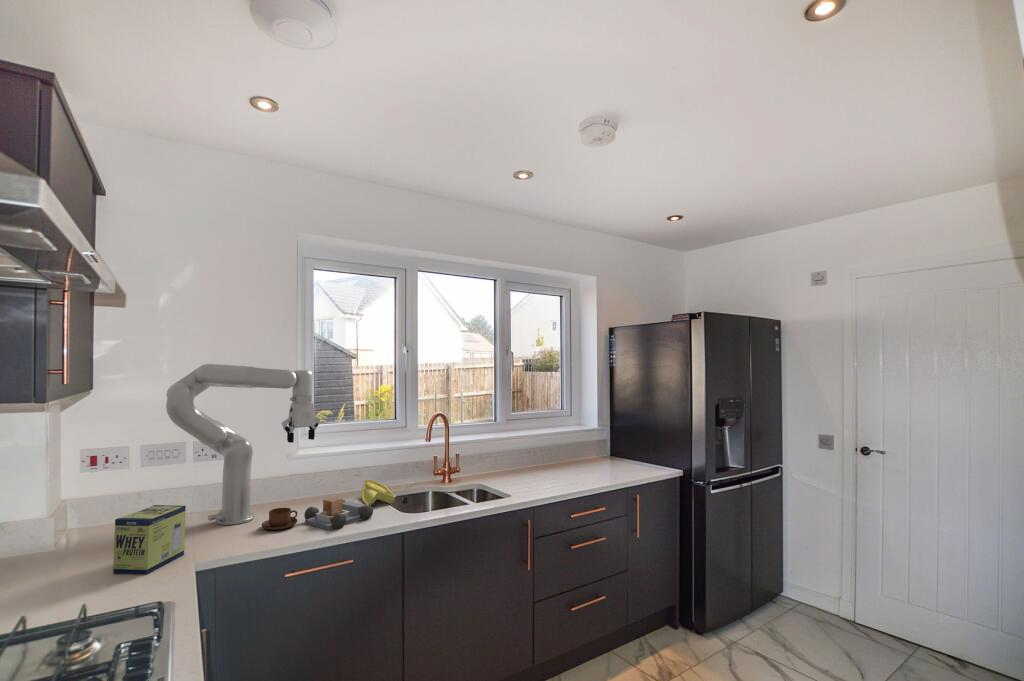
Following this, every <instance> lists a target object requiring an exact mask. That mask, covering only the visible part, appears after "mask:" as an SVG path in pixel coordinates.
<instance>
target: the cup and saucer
mask: <svg viewBox="0 0 1024 681" xmlns="http://www.w3.org/2000/svg"><path fill="white" fill-rule="evenodd" d="M292 513H295V515H294V516H292ZM297 516H298V511H297V510H292V509H291V508H290V507H277V508H273V509H270V510H269V511H268V519H267V520H265V521H263V522H262V523H261V527H262V528H263V529H265V530H269V531H279V530H284V529H288V528H291V527H293V526H295V525H296V524H297V523H298V519H297Z"/></svg>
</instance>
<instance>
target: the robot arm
mask: <svg viewBox="0 0 1024 681" xmlns="http://www.w3.org/2000/svg"><path fill="white" fill-rule="evenodd" d="M210 387H219V388H220V387H222V388H241V389H243V388H244V389H245V388H246V389H254V388H255V389H256V388H263V389H265V388H266V389H291V388H292V391H291V392H292V394H291V396H292V397H290V398H289V401H290V402H291V403H290V406H289V409H288V410H289V411H288V418H286V419H285V420H284V421H282V422H281V426H282V428H283V430H285V432H286V433H287V434H286V435H287V436H286V437H287V438H286V440H287V443H294V442H295V440H294V439H295V433H294V431H295V429H299V428H307V427H308V432H307V433H308V435H307V436H308V438H307V439H308V440H312V441H313V440H315V437H316V436H315V432H316V430H317V427H318V426H319V424H320V421H321V419H320V418H319V417H317V416H316V408H315V403H314V402H312V398H313V396H312V394H313V372H312V370H307V369H304V370H303V369H298V370H290V369H277V368H263V367H262V368H261V367H255V366H246V365H233V364H221V363H220V364H216V363H215V364H214V363H205V364H202V365H200V366H199V367H197V368H195V369H194V370H193V371H191V372H190V373H189V374H187V375H186V376H184V377H182V378H180V379H179V380H178V381H176V382H175V383H173V384H172V385H170V386H169V387H168V388H167V390H166V391H167V392H166V404H165V406H166V407H165V408H166V413H167V415H168V418H169V419H170V421H171V422H172V423H173V424H174V425H175V426H177V427H178V428H180V429H181V430H183V431H184V432H186V433H187V434H189V435H190V436H191V437H193V438H195V439H196V440H198V441H199V443H201V444H203V445H204V446H206V447H208V448H210V449H212V450H213V451H215V452H217V453H218V454H219V455H222V456H223V468H222V492H221V493H222V494H221V496H222V497H221V498H222V499H221V509H219V510H218V512H217V513H216V514H210V515H208V516H207V520H208V521H209V522H211V521H214V520H215V521H216V524H218V525H224V526H230V525H231V526H232V525H240V524H244V523H247V522H250V521H252V520H254V518H255V514H254V513H252V512H250V511H251V482H252V481H251V480H252V479H251V478H252V477H251V476H252V461H253V454H254V452H253V451H254V450H253V446H252V444H251V442H250V441H249V440H248V439H246V438H245V437H243V436H241V435H240V434H238V433H237V432H235V431H233V429H231V428H229V427H228V426H227V425H225V424H223V423H222V422H220V421H218V420H216V419H213V418H212V417H210V416H209V415H207V414H206V413H205V412H203V411H201V410H200V409H198V408H197V407H196V406H195V402H194V400H195V398H196V397H197V396H198V395H200V394H201V393H203V392H204V391H205V390H207V389H208V388H210Z"/></svg>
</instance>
